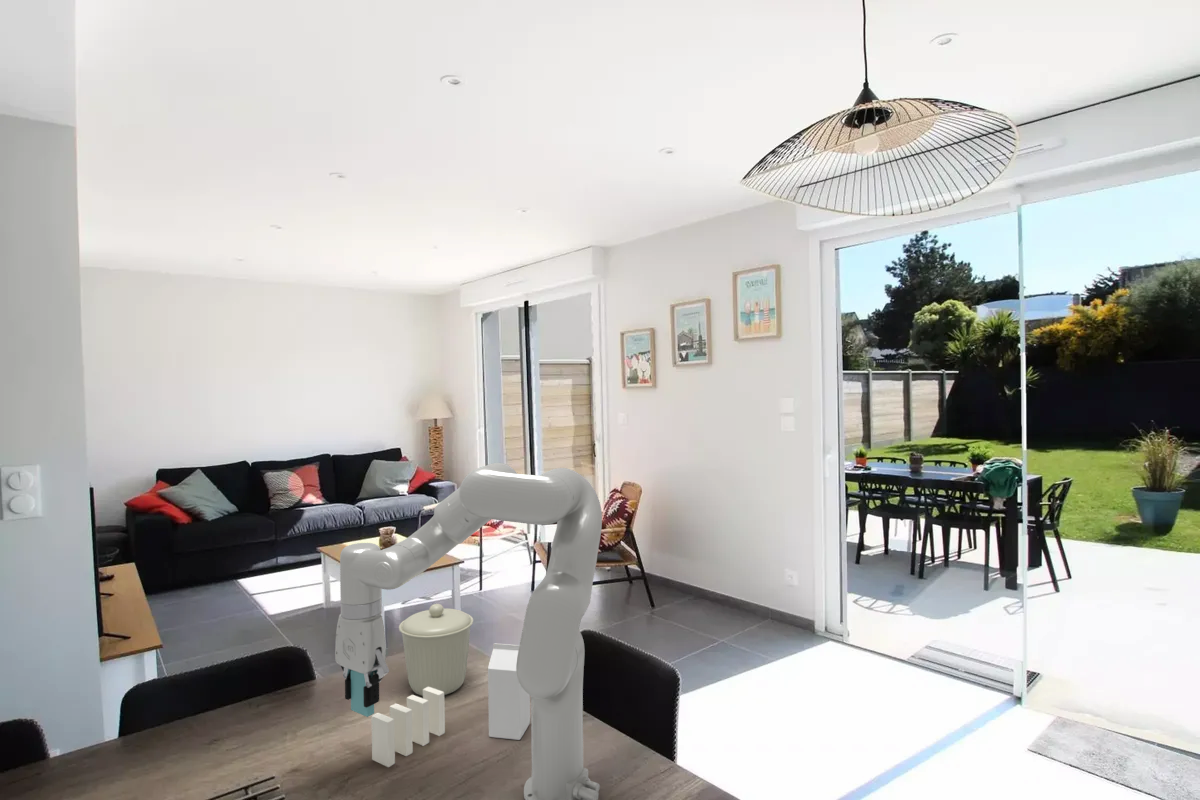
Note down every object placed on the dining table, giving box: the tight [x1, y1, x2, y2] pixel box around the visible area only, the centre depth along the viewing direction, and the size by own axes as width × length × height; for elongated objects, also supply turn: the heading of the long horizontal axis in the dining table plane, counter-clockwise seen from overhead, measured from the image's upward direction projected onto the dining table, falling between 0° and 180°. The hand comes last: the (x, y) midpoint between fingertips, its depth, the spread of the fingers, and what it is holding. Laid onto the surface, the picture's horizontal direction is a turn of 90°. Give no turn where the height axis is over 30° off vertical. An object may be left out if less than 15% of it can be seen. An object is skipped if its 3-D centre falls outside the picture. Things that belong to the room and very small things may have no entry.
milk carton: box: [487, 642, 531, 741], centre depth 142 cm, size 7×7×19 cm
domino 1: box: [350, 670, 375, 718], centre depth 127 cm, size 5×2×9 cm, turn 57°
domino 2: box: [370, 712, 396, 768], centre depth 131 cm, size 5×2×9 cm, turn 57°
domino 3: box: [389, 702, 414, 757], centre depth 134 cm, size 5×2×9 cm, turn 57°
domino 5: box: [422, 687, 446, 737], centre depth 142 cm, size 5×2×9 cm, turn 57°
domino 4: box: [406, 694, 430, 747], centre depth 138 cm, size 5×2×9 cm, turn 57°
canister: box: [398, 603, 474, 697], centre depth 163 cm, size 18×18×21 cm
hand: (362, 699), depth 127 cm, fingers closed on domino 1, 4 cm apart
